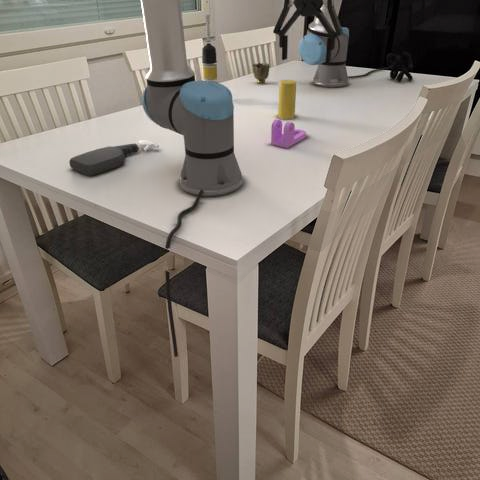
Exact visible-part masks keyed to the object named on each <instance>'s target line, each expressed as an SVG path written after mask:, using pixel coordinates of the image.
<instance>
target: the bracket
mask: <svg viewBox="0 0 480 480" xmlns="http://www.w3.org/2000/svg"><path fill="white" fill-rule="evenodd" d="M270 129H271V130H270V131H271V132H270V133H271V134H270V145H272V146H277V147H281V148H285V149H288V148H290V147H292V146H294V145H295V144H297V143H299V142H302V140H304V139H306V138H307V131H306V130H304V129H299V128H297V129H296V128H295V123H294V122H292V121H291V122H290V121H286V122H285V124H284V127H283V121H282V119H281V120H280V119H274V120H272V123H271V127H270Z"/></svg>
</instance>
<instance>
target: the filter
mask: <svg viewBox="0 0 480 480" xmlns="http://www.w3.org/2000/svg"><path fill="white" fill-rule="evenodd" d="M210 17H211V14H204V18H205V27H206V29H205V30H206V31H205V33H206V39H207V40H206V42H207V43H206V45H204V46H202V49H201V50H202V51H201V52H202V54H201V55H202V57H201V58H202V61H201V63H202V71H203V72H202V73H203V74H202V75H203V81H208V82H216V83H219V82H218V81H216V80H218V64H216V63H218V61H217V48H216V47H215V46H214V45H212V43H210V42H211V40H210V39H211V31H210V29H211V28H210Z"/></svg>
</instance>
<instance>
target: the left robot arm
mask: <svg viewBox="0 0 480 480" xmlns="http://www.w3.org/2000/svg"><path fill="white" fill-rule="evenodd" d="M140 4H141V10H142V16H143V17H142V18H143V23H144V31H145V36H146V43H147V50H148V56H149V63H150V70H149V71H148V72H147V73H146V75H145V79H146V85H145V86H144V87H145V88H144V90H142V94H141V104H142V109H143V111H144V113H145V115H146V116H147V118H148V119H149V120H150V121H151V122H153V123H155V125H157V126H159V127H161V128H163V129H166V130H169V131H172V132H175V133H176V134H178V135H181V136H183V143H184V154H185V155H184V158H183V164H182V168H181V171H180V177H179V183H180V184H179V185H180V188H181V189H182V191H184V192H186V193H187V194H190V195H194V196H196V198H195V199H194V203H193V204H192V205H191V206H189V207H188V208H186V209H183V210H182V211H181V212H179V214H178V215H177V223H176V225H175V226H174V228H172V230H171V231H170V232H169V233H168V236H167V239H166V242H165V246H164V248H165V249H166V250H168V249H170V247H171V242H172V239H173V236H174V235H175V234H176V232H177V231H178V230H179V229H180V228H181V226H182V218H183V216H184V215H186V214H188V213H190V212H192V211H193V210H195V208H196V207H197V206H198V204H199V201H200V199H201V197H221V196H224V195H229V194H232V193H234V192H235V191H237V190H239V189H240V188H241V187H242V185H243V174H242V171H241V168H240V165H239V163H238V160H237V157H236V154H235V125H234V123H235V121H234V118H235V117H234V114H235V113H234V112H235V110H234V109H235V106H234V101H233V94H232V91H231V90H230V89H229V87H227V86H226V85H224V84H222V83H220V82H218V83H216V82H217V81H215V82H208V80H196V74H195V73H196V72H195V70H193V69H192V68H191V67H190V66H189V65H188V59H187V50H186V40H185V32H184V31H185V30H184V23H183V13H182V3H181V0H140ZM323 4H324V5H325V7H326V8H328V12H329V15H330V18H331V20H332V23H333V26H334V28H335V31H336V32H335V31H334V29H333V28H332V26H331V25H330V23H329V22H328V20H327V19H326V17H325V16H324V14H323V12H322V10H321V7H322V6H323ZM293 5H294V7H295V11H294V12H293V13H292V15H291V17H290V18H289V19H288V21H286V23H285V20H286V18H287V16H288V14H289V12H290V9H291V8H293ZM300 16H301V17H310V18H311V17H312V18H313V17H315V16H316V17H317V18H318V19H319V21H320V22H321V24H322V25H323V27H324V28H325V30H326V31H327V33H328V34H329V36H330V37H329V38H327V51H326V63H328V62H330V61H331V50H334V49H335V42H336V37H337V36H340V35H341V34H342V33H343V31H342V28H341V27H342V25H341V22H340V20H339V16H338V17H337V14H336V11H335V8H334V0H284V2H283V8H282V10H281V12H280V15H279V17H278V19H277V21H276V23H275V25H274V28H273V30H272V32H273V34H275V35H278V38H279V39H278V40H279V41H278V42H279V43H278V46H279V48H281V60H282V61H285V60H288V45H289V42H288V41H289V39H288V38H289V35H286V34H287V32H288V31H289V30H290V29H291V27H292V26H293V25H294V24H295V22H296V21H297V20H298V18H299V17H300ZM284 23H285V24H284ZM283 25H284V26H283ZM164 272H165V273H164V274H165V291H166V302H167V310H168V318H169V326H170V332H171V339H172V348H173V356H174V358H178V356H179V354H178V344H177V336H176V329H175V320H174V314H173V305H172V296H171V275H170V271H168V270H165V271H164Z"/></svg>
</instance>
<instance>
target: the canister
mask: <svg viewBox="0 0 480 480" xmlns="http://www.w3.org/2000/svg"><path fill="white" fill-rule="evenodd" d="M278 81H279V82H278V112H277V114H278V115H277V116H278V119H281V120H293V119H294V118H296V98H297V81H296V80H294V79H281V80H278Z"/></svg>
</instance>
